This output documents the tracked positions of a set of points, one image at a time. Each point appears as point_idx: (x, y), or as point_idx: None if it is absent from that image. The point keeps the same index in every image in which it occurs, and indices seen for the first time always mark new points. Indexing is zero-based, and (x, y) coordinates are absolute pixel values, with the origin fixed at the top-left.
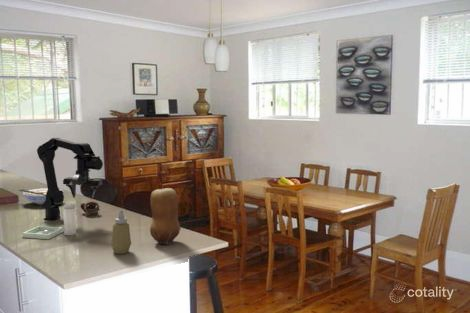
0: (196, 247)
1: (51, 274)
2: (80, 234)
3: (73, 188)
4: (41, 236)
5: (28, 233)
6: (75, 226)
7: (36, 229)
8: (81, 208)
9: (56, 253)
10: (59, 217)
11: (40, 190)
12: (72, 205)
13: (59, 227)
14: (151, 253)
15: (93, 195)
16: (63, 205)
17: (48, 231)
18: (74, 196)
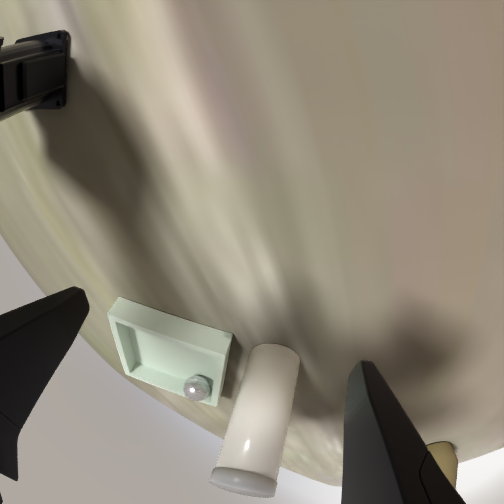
0: None
1: (309, 477)
2: (319, 359)
3: (7, 411)
4: None
5: (145, 381)
6: (293, 397)
7: (122, 329)
8: None
9: (289, 445)
10: (64, 63)
11: None
12: (259, 494)
13: (207, 351)
14: (487, 443)
15: (393, 407)
16: (212, 484)
17: (203, 399)
18: (78, 316)
